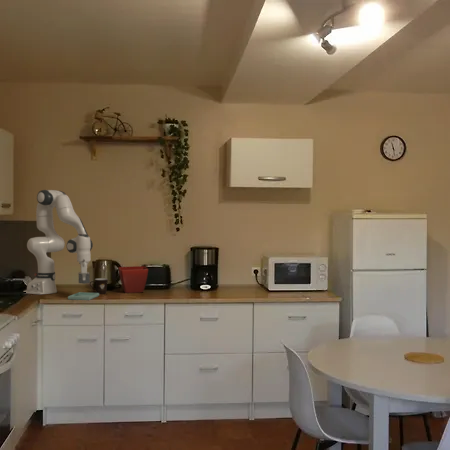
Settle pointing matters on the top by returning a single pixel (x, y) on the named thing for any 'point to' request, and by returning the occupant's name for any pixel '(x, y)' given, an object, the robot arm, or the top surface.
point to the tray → (83, 296)
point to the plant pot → (133, 278)
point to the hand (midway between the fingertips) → (84, 279)
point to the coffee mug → (100, 285)
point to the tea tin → (87, 278)
